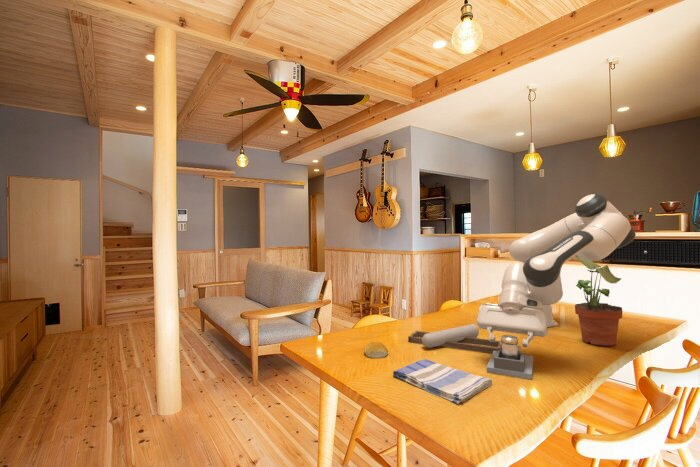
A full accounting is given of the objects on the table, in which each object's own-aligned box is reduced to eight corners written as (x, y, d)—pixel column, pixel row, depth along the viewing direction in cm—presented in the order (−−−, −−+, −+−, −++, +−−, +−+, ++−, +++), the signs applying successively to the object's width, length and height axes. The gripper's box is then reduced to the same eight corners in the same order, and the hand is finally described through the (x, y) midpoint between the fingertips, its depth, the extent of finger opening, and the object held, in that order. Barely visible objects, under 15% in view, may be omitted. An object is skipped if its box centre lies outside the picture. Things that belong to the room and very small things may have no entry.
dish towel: (460, 408, 83) (459, 396, 83) (390, 378, 102) (390, 368, 102) (495, 386, 94) (495, 376, 94) (426, 363, 113) (426, 354, 113)
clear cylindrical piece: (505, 360, 107) (504, 334, 107) (521, 365, 104) (520, 337, 104) (498, 365, 104) (498, 337, 104) (515, 369, 100) (514, 340, 100)
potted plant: (570, 344, 125) (568, 249, 125) (578, 334, 136) (576, 247, 136) (625, 353, 114) (622, 249, 114) (629, 342, 125) (626, 247, 125)
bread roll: (384, 349, 126) (383, 338, 126) (390, 357, 117) (389, 346, 117) (362, 350, 125) (361, 340, 125) (366, 359, 116) (366, 348, 116)
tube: (429, 339, 121) (480, 328, 132) (420, 331, 125) (470, 321, 136) (426, 352, 122) (477, 340, 133) (417, 343, 127) (467, 332, 138)
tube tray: (415, 335, 141) (415, 330, 141) (502, 346, 124) (502, 341, 124) (408, 342, 133) (408, 336, 133) (500, 354, 117) (500, 349, 117)
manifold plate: (493, 354, 117) (493, 341, 117) (533, 360, 111) (532, 346, 111) (486, 372, 103) (486, 357, 103) (531, 379, 97) (531, 363, 97)
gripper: (478, 297, 116) (471, 333, 108) (547, 303, 105) (544, 343, 97) (482, 307, 120) (475, 343, 112) (549, 314, 108) (546, 354, 100)
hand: (508, 343), depth 104 cm, fingers open, 8 cm apart
